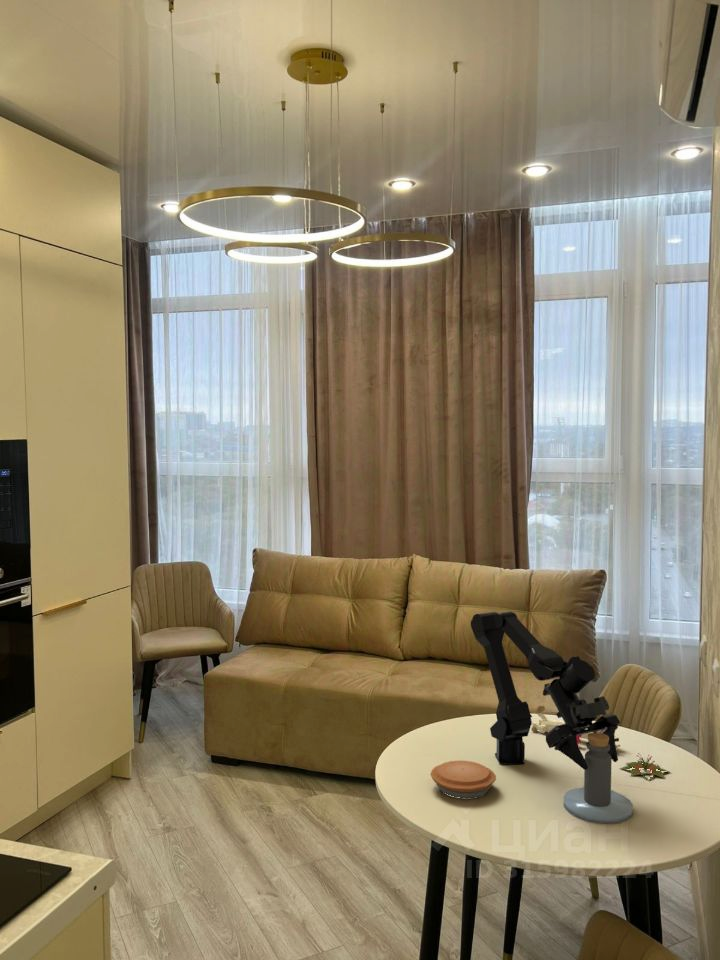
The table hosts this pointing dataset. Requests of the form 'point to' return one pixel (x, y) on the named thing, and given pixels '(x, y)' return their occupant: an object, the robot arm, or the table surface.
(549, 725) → the cat figure
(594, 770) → the bottle
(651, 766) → the lily flower
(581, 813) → the dish
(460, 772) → the pie
